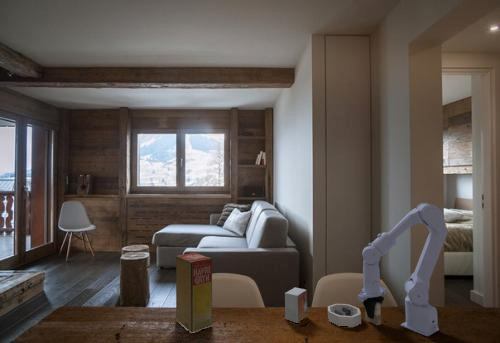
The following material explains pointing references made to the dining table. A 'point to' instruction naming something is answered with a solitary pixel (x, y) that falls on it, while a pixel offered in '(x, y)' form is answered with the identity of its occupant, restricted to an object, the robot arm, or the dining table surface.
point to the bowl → (344, 320)
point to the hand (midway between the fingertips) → (372, 316)
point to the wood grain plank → (375, 315)
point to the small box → (296, 304)
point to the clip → (344, 311)
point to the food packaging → (194, 291)
